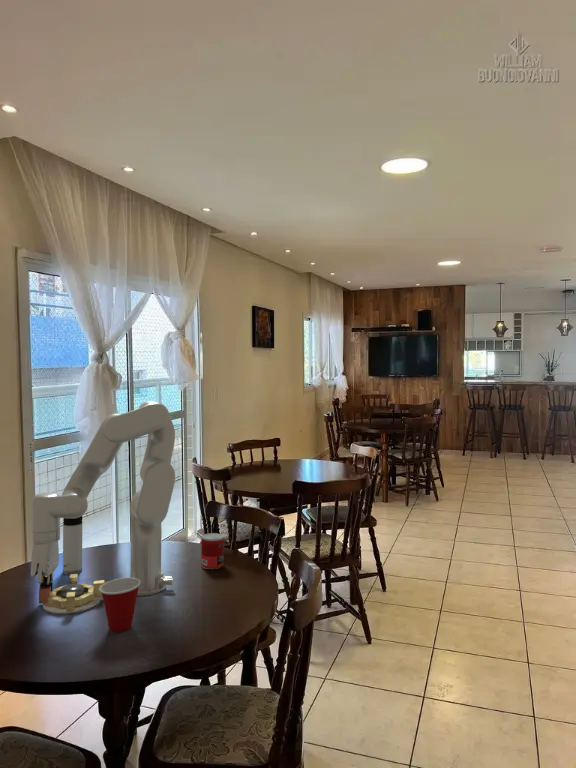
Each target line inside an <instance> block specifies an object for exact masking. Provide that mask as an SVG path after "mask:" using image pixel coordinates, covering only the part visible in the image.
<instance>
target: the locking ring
mask: <svg viewBox="0 0 576 768" xmlns="http://www.w3.org/2000/svg"><path fill="white" fill-rule="evenodd" d="M78 577H79V573H77V574H69V585H70V584H79V582H78V581H79V579H78ZM104 583H105V580H104V579H103V580H94V581H93V585H92V584H87V583H80V584H81V585H83V586H84V593H85V594H84V595H82V596H80V597H75V592H69V593H67V596H66V599H64V598H60V596H61V588H62V587H64V586H66V585H67V584H64V585H62V586H59V587H57V588H53V591H52V592H51V586H46V587H40V586H39V589H38V604H39V605H40V604H43V603H48V605H51V606H55V607H58V608H66V612H67V611H75V607H77V606H82V605H84V604H86V603H88V602H90V601H93V600H94V599H95V597H101V598H103V596H102V593H101V592H100V591H99V588H100V586H101V585H103V584H104Z"/></svg>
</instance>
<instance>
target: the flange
mask: <svg viewBox="0 0 576 768" xmlns="http://www.w3.org/2000/svg"><path fill="white" fill-rule="evenodd" d="M65 585H66V586H64V585H63V586H64V587H62V588H61V596H60V598H64V599H66V596H67V593H69V592H75V597H80V596H82V595H84V594H85V593H84V586H83V585H81V583H78V584H70V583H69V584H65ZM101 599H102V597H95V599H94V600H93V601H90V602H88V603H86V604H84V605H82V606H77V607H75V611H67V612H66V608H58V607H55V606H51V605H48V603H42V609H43V610H44V612H45V613H48V614H51V615H57V616H58V615H59V616H61V615H62V616H66V615H67V616H68V615H75V614H79V613H83V612H87V611H89V610H91V609H93V608H95V607H96V606H98V605H99V604H100V603H101Z"/></svg>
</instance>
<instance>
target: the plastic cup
mask: <svg viewBox="0 0 576 768" xmlns="http://www.w3.org/2000/svg"><path fill="white" fill-rule="evenodd" d="M140 582H141V581H140V580H139V579H136V578H130V577H122V578H121V577H120V578H115V579H112V580H109V581H106V582H104V584H103V585H101V586H100V588H99V591H100V592H101V593H102V596H103V597H102V599H103V604H104V609H105V615H106V619H107V625H108V628H109V631H110V632H112V633H122V632H123V631H124V632H126V630H127V631H129V630H130V629H131V628H132V625H133V621H134V616H135V611H136V604H137V597H138V596H137V594H138V589H139V586H140ZM129 628H130V629H129ZM128 629H129V630H128ZM124 632H123V633H124Z"/></svg>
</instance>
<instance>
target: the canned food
mask: <svg viewBox="0 0 576 768" xmlns="http://www.w3.org/2000/svg"><path fill="white" fill-rule="evenodd" d="M224 552H225V537H224V535H223V534H222V533H216V532H212V533H210V532H209V533H205V534H202V535H201V553H200V554H201V560H200V561H201V563H200V564H201V567H202V566H203V567H205V568H218V567H221V566H223V567H224V563H225V562H224V560H225V557H224V555H225V553H224Z"/></svg>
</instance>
